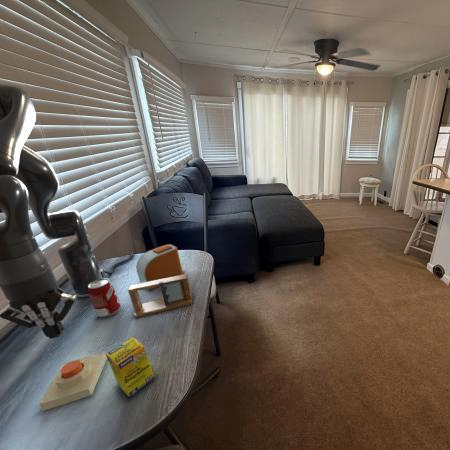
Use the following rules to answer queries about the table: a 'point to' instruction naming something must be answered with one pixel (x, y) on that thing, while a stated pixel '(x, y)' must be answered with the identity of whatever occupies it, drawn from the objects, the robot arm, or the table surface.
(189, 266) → the table surface
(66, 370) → the button
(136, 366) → the supplement box
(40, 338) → the table surface
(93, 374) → the control plate
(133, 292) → the window frame
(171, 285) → the window pane
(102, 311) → the soda can
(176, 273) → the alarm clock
